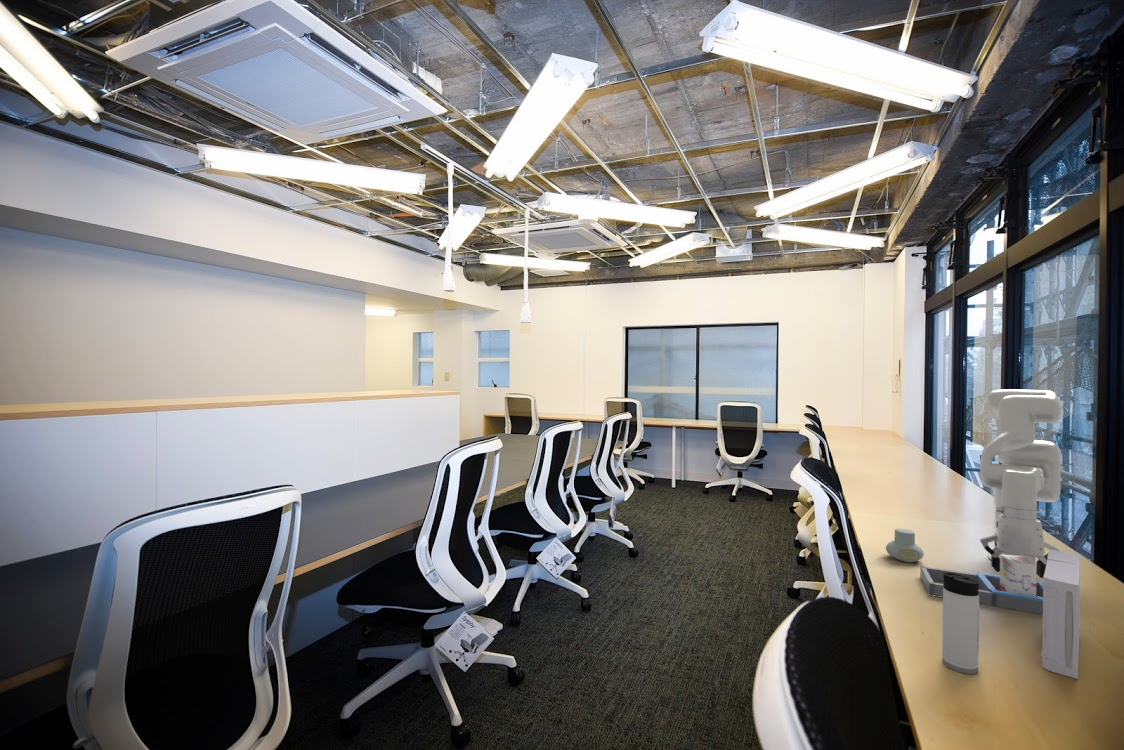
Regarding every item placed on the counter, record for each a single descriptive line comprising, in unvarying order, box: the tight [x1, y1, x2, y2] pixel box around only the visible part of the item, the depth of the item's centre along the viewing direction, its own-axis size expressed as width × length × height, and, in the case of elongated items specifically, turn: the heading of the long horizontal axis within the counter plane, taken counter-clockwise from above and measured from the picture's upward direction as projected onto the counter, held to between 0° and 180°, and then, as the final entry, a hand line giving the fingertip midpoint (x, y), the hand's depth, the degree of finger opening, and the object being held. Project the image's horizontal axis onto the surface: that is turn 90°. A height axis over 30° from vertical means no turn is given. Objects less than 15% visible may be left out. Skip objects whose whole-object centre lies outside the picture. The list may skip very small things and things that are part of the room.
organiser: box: [919, 565, 1043, 615], centre depth 150 cm, size 16×30×4 cm, turn 63°
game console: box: [1040, 549, 1081, 680], centre depth 120 cm, size 6×27×20 cm, turn 135°
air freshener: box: [885, 528, 924, 563], centre depth 179 cm, size 11×8×10 cm
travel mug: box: [941, 573, 980, 675], centre depth 113 cm, size 6×7×20 cm
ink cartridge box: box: [999, 554, 1037, 596], centre depth 147 cm, size 9×5×15 cm, turn 166°
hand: (1018, 573), depth 147 cm, fingers open, 9 cm apart
